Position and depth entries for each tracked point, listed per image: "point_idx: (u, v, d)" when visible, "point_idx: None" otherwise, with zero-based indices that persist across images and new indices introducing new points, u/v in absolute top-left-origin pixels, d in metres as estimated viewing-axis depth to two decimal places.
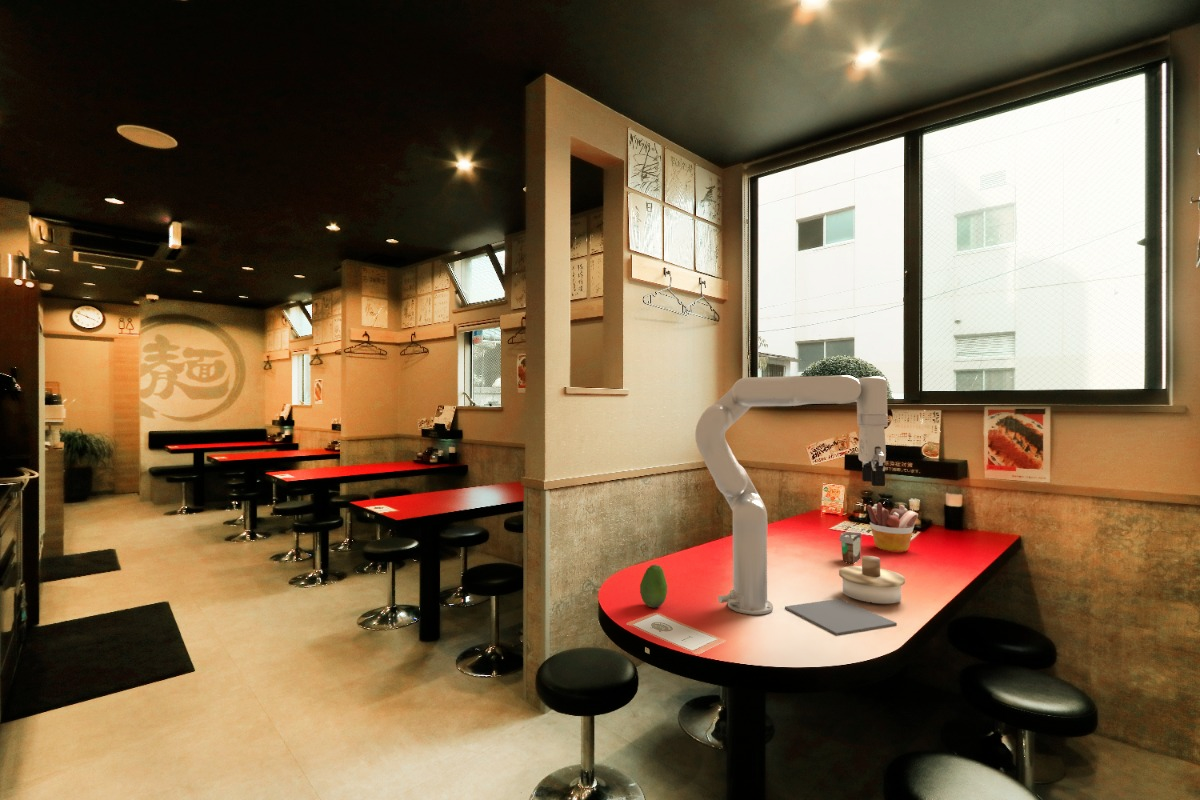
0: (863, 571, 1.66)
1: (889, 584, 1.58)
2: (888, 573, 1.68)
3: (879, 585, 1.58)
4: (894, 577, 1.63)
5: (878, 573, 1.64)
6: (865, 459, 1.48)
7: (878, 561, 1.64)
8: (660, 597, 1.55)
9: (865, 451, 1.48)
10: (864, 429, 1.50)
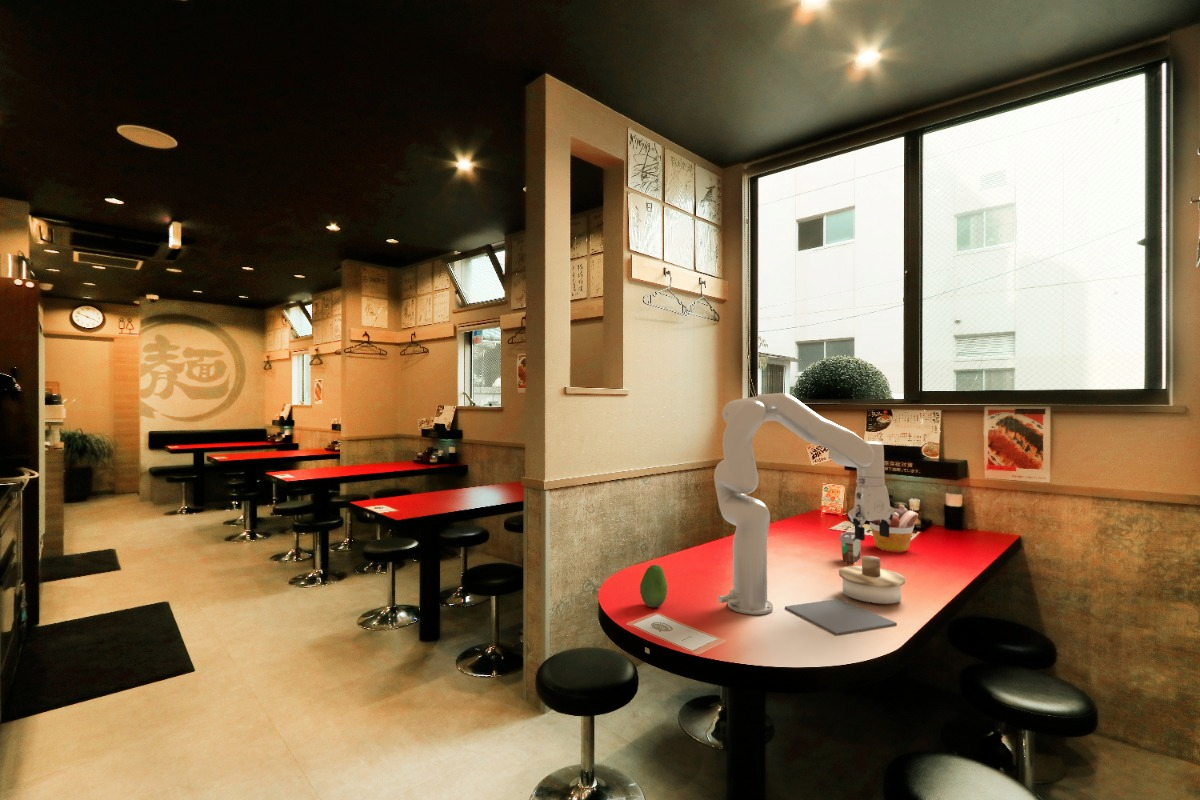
0: (863, 571, 1.66)
1: (889, 584, 1.58)
2: (888, 573, 1.68)
3: (879, 585, 1.58)
4: (894, 577, 1.63)
5: (878, 573, 1.64)
6: (888, 515, 1.66)
7: (878, 561, 1.64)
8: (660, 597, 1.55)
9: (887, 508, 1.66)
10: (883, 489, 1.65)
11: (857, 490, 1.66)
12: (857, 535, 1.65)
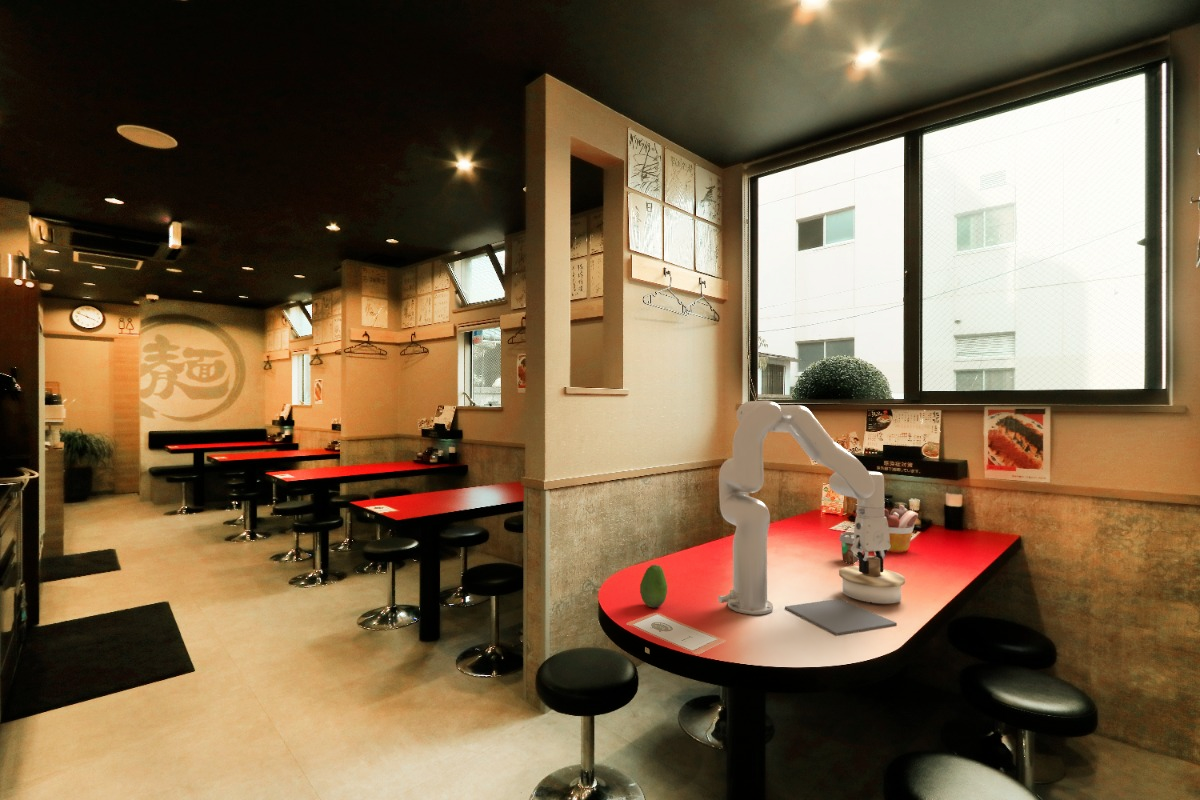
0: None
1: (889, 584, 1.58)
2: (888, 573, 1.68)
3: (879, 585, 1.58)
4: (894, 577, 1.63)
5: (878, 573, 1.64)
6: (887, 546, 1.65)
7: (878, 561, 1.64)
8: (660, 597, 1.55)
9: (887, 539, 1.65)
10: (883, 520, 1.65)
11: (857, 520, 1.66)
12: (861, 568, 1.65)
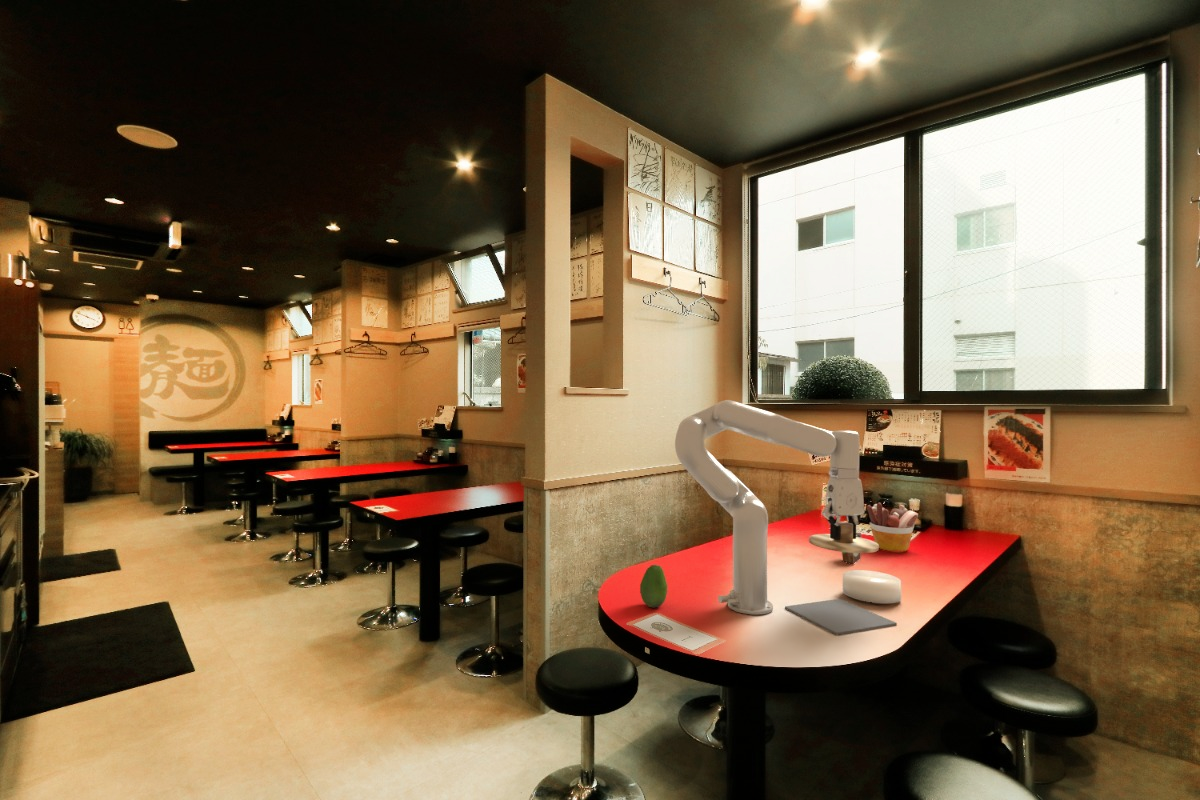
0: None
1: (862, 550, 1.46)
2: (861, 540, 1.56)
3: (851, 551, 1.46)
4: (867, 544, 1.51)
5: (850, 539, 1.52)
6: (861, 511, 1.53)
7: (851, 526, 1.52)
8: (660, 597, 1.55)
9: (860, 503, 1.53)
10: (857, 482, 1.53)
11: (829, 482, 1.54)
12: (832, 534, 1.53)
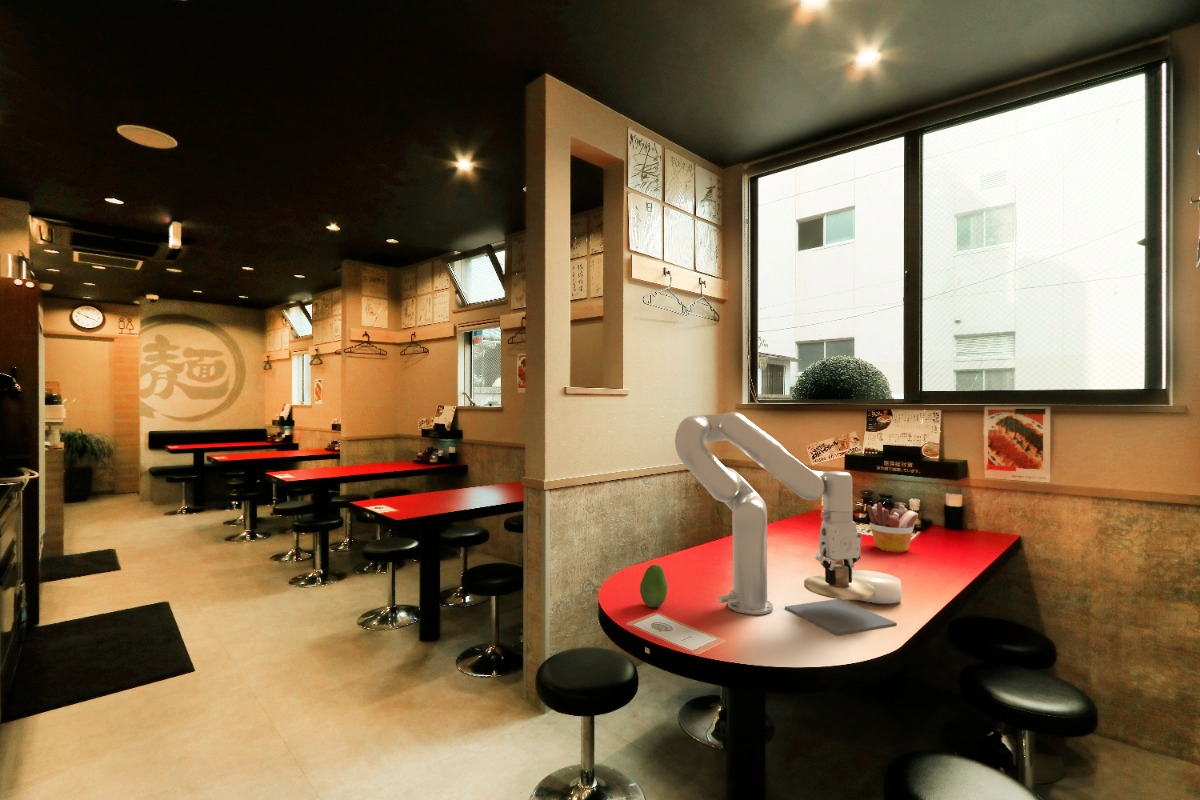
0: None
1: (857, 596, 1.42)
2: (858, 583, 1.52)
3: (846, 598, 1.42)
4: (863, 588, 1.48)
5: (846, 584, 1.49)
6: (856, 554, 1.50)
7: (846, 570, 1.49)
8: (660, 597, 1.55)
9: (855, 546, 1.50)
10: (851, 525, 1.50)
11: (822, 525, 1.51)
12: (827, 579, 1.50)
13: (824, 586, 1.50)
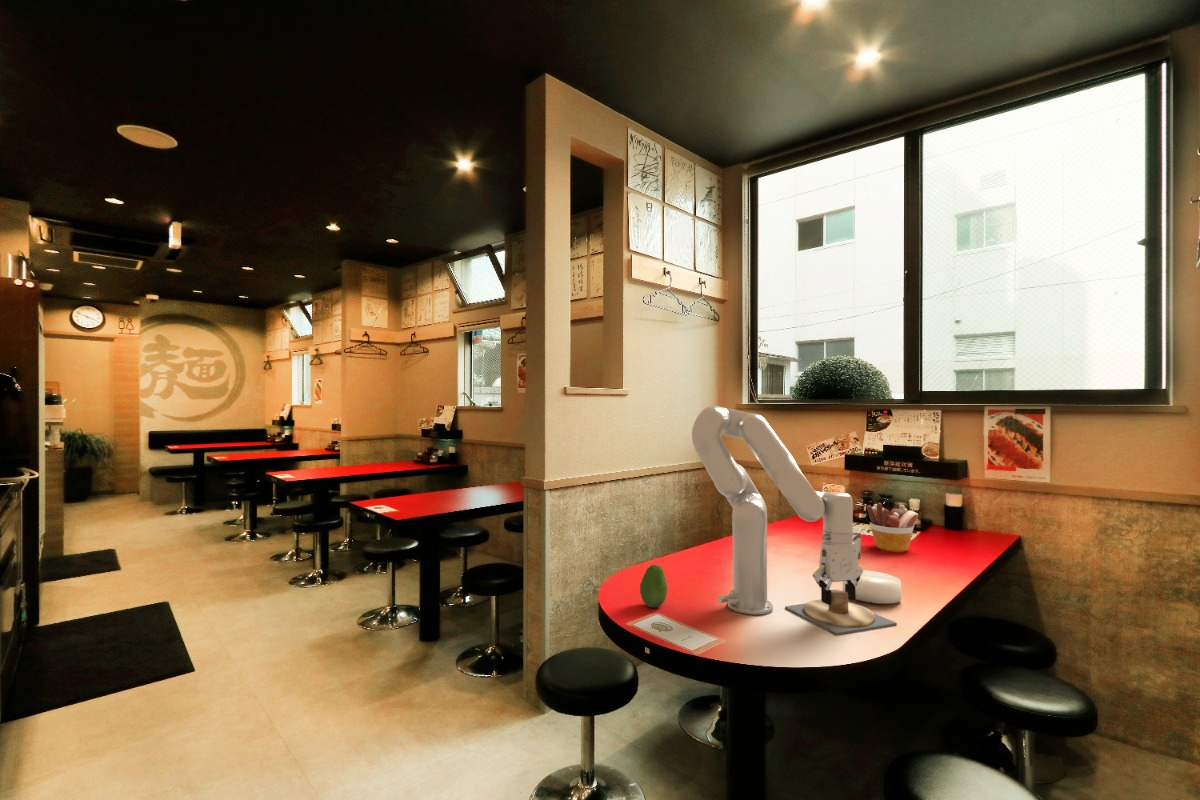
0: (829, 607, 1.51)
1: (856, 624, 1.42)
2: (857, 609, 1.52)
3: (845, 625, 1.42)
4: (863, 614, 1.48)
5: (846, 610, 1.49)
6: (856, 576, 1.50)
7: (846, 596, 1.49)
8: (660, 597, 1.55)
9: (855, 568, 1.50)
10: (851, 546, 1.50)
11: (822, 547, 1.51)
12: (823, 598, 1.49)
13: (824, 612, 1.50)
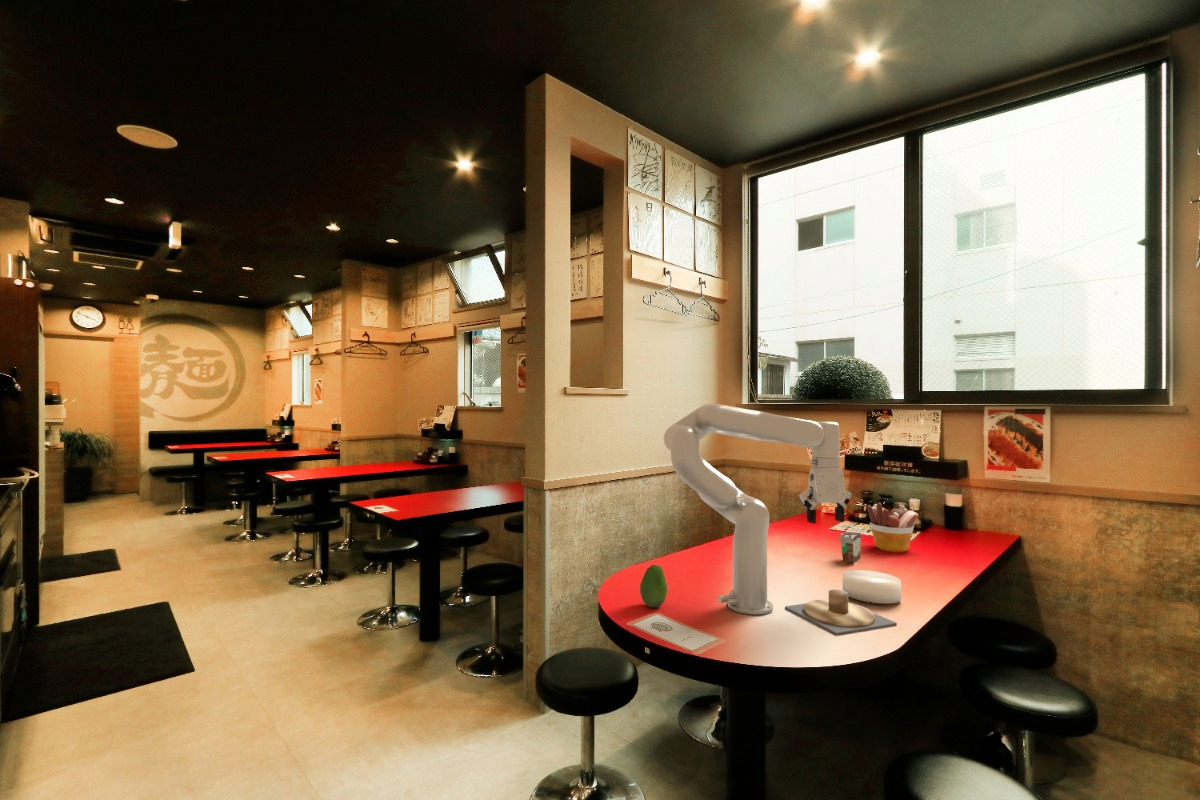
0: (829, 607, 1.51)
1: (856, 624, 1.42)
2: (857, 609, 1.52)
3: (845, 625, 1.42)
4: (863, 614, 1.48)
5: (846, 610, 1.49)
6: (842, 499, 1.59)
7: (846, 596, 1.49)
8: (660, 597, 1.55)
9: (842, 491, 1.59)
10: (838, 471, 1.59)
11: (810, 471, 1.60)
12: (808, 518, 1.59)
13: (824, 612, 1.50)
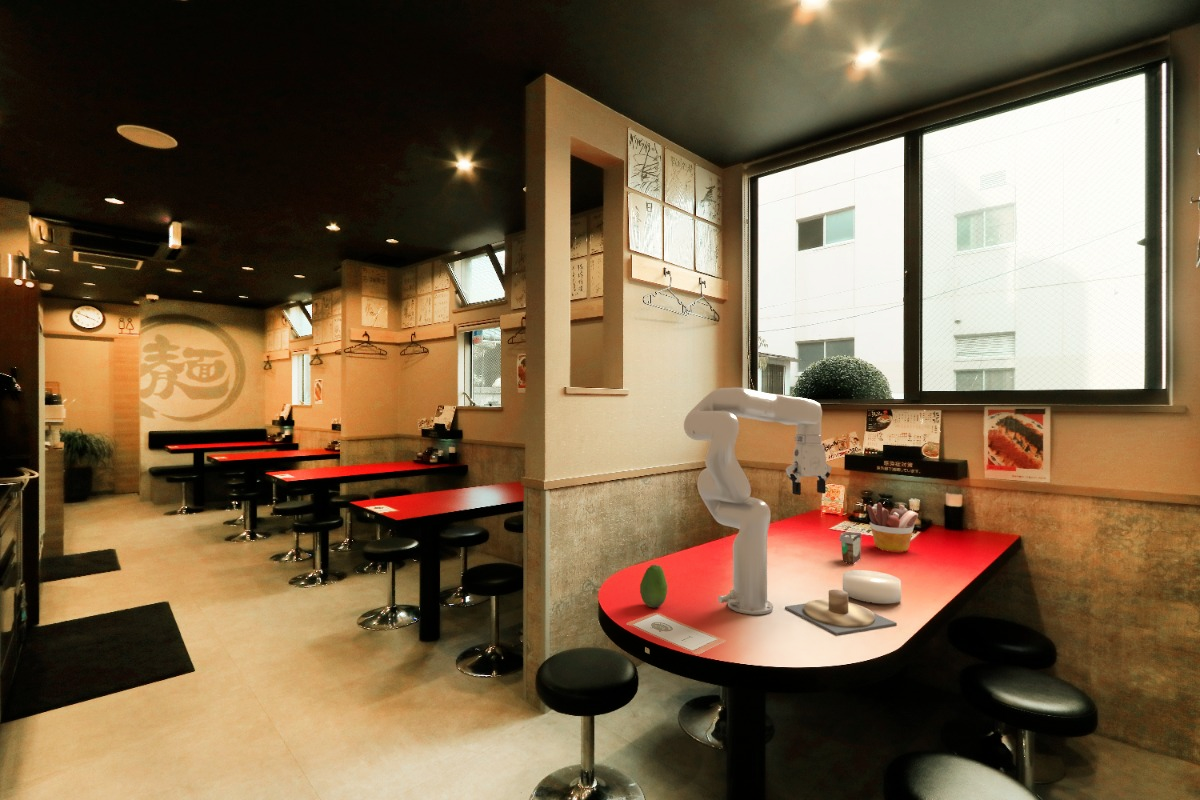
0: (829, 607, 1.51)
1: (856, 624, 1.42)
2: (857, 609, 1.52)
3: (845, 625, 1.42)
4: (863, 614, 1.48)
5: (846, 610, 1.49)
6: (824, 472, 1.74)
7: (846, 596, 1.49)
8: (660, 597, 1.55)
9: (823, 465, 1.74)
10: (820, 447, 1.74)
11: (795, 448, 1.75)
12: (794, 490, 1.73)
13: (824, 612, 1.50)
